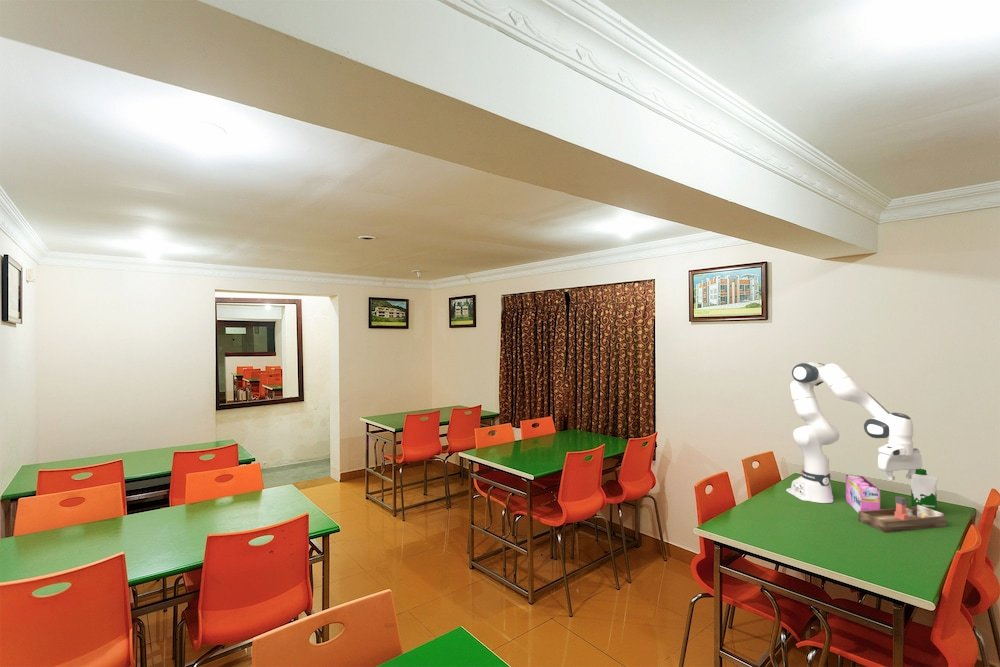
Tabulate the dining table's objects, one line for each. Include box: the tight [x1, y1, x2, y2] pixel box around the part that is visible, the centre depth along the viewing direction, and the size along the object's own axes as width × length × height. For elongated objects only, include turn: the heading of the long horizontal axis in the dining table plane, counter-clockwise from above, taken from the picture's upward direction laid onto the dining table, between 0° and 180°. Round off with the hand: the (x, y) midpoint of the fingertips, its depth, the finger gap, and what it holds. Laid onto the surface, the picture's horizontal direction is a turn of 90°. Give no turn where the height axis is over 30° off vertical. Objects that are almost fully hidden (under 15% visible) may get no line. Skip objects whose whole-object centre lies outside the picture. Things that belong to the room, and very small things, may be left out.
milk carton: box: [910, 468, 939, 511], centre depth 230 cm, size 9×9×20 cm
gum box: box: [845, 474, 881, 513], centre depth 236 cm, size 24×8×14 cm, turn 160°
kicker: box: [894, 495, 908, 520], centre depth 217 cm, size 4×2×10 cm, turn 9°
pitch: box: [857, 505, 947, 533], centre depth 217 cm, size 13×32×6 cm, turn 99°
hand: (900, 479), depth 217 cm, fingers open, 8 cm apart
